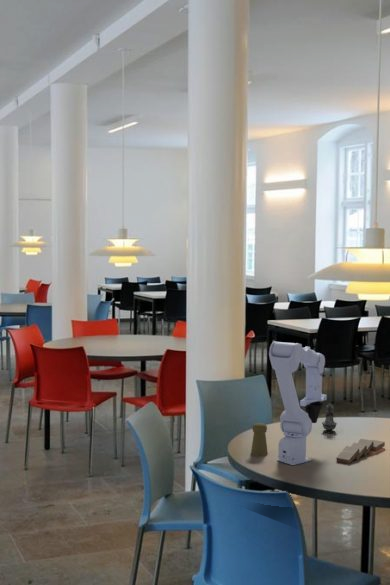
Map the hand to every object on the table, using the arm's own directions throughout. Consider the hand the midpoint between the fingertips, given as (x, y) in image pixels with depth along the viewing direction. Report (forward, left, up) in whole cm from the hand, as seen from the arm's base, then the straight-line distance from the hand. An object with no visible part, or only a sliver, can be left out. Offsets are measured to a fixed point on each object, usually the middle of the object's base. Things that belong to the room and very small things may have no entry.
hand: (313, 422), depth 298 cm
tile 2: (+2, -16, -10) cm, 19 cm away
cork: (-18, +9, -11) cm, 23 cm away
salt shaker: (+26, +15, -11) cm, 32 cm away
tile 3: (+8, -15, -10) cm, 19 cm away
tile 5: (+13, -14, -11) cm, 22 cm away
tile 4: (+15, -14, -9) cm, 22 cm away
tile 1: (-3, -17, -10) cm, 20 cm away
